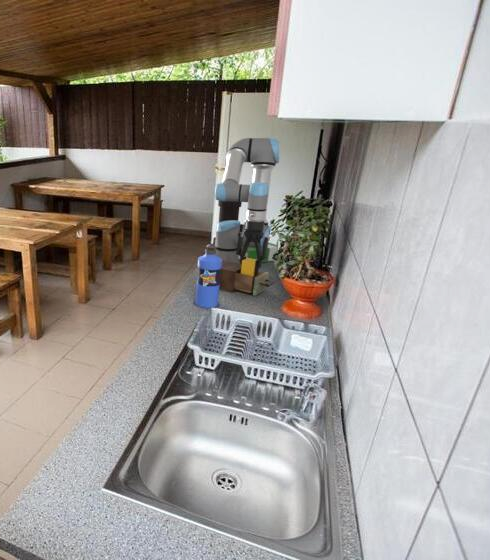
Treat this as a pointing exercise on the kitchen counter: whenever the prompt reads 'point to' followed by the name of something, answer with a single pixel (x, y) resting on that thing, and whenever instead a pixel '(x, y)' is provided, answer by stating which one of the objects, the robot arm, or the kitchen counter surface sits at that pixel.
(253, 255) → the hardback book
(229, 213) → the grey black cylinder
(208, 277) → the water bottle
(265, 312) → the kitchen counter surface
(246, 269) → the toy block
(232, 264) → the cabinet
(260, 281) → the drawer
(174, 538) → the kitchen counter surface
